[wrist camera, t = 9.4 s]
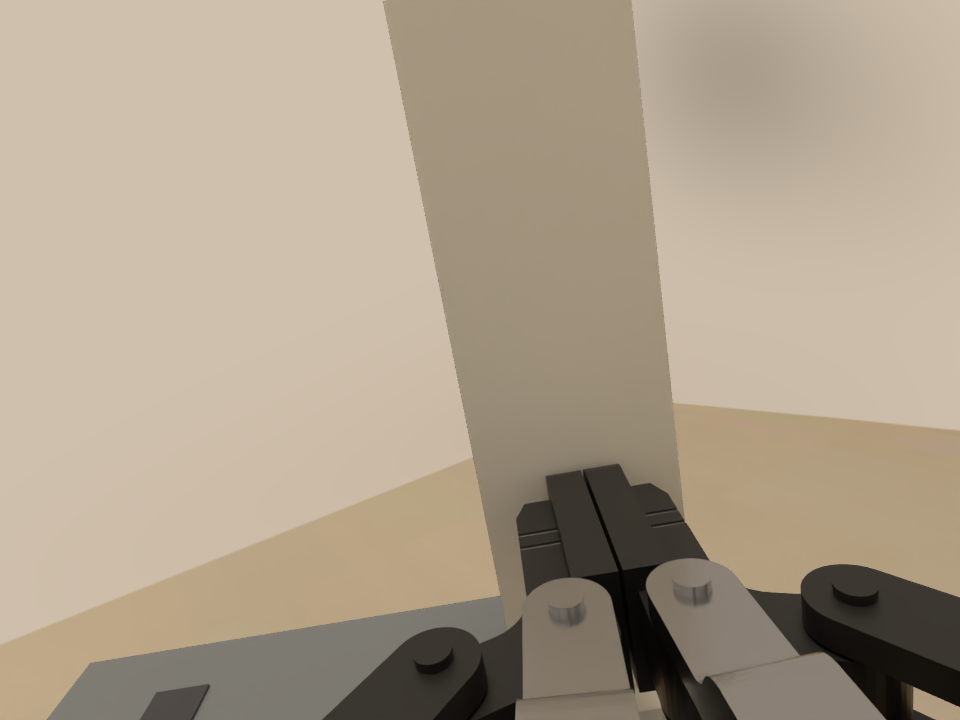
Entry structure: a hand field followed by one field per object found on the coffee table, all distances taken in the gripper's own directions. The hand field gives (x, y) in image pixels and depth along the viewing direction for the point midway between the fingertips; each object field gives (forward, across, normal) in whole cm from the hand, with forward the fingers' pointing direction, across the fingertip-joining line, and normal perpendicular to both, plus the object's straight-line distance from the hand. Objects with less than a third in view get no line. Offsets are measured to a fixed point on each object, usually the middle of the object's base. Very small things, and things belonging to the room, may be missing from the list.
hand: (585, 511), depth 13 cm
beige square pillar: (+1, 0, +6) cm, 6 cm away
